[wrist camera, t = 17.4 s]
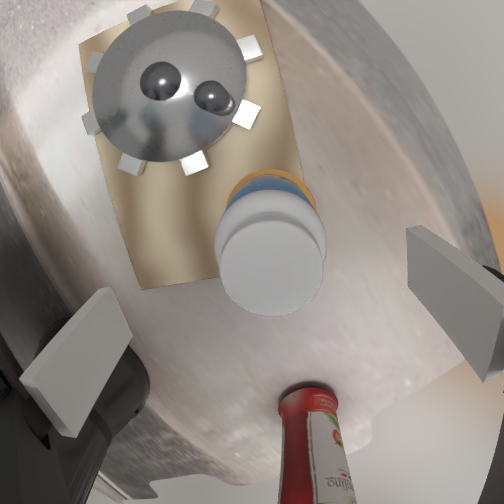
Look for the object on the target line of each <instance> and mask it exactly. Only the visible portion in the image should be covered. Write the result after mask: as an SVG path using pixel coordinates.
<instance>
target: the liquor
mask: <svg viewBox="0 0 504 504" xmlns="http://www.w3.org/2000/svg"><path fill="white" fill-rule="evenodd" d="M337 408H338V399H337V397H336V396H335V395H334V394H333V393H331V392H330V391H327V390H325V389H320V388H315V387H306V388H301V389H298V390H296V391H294V392H292V393H290V394H289V395H287V396H286V397H285V398H284V399H283V400H282V401H281V402H280V404H279V407H278V412H279V415H280V416H281V418H282V452H281V472H280V484H279V493H278V504H357V502H356V496H355V493H354V488H353V484H352V480H351V476H350V472H349V468H348V464H347V460H346V455H345V451H344V446H343V442H342V437H341V433H340V428H339V423H338V419H337V414H336V410H337Z"/></svg>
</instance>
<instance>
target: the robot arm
mask: <svg viewBox="0 0 504 504" xmlns="http://www.w3.org/2000/svg"><path fill="white" fill-rule="evenodd" d="M406 235H407V260H408V287H409V289H410V290H411V291H412V292H413V293H414V294H415V296H416V297H417V298H418V299H419V300H420V301H421V303H422V304H423V305H424V306H425V307H426V309H427V310H428V311H429V312H430V314H431V315H432V316H433V317H434V318H435V320H436V321H437V322H438V323H439V325H440V326H441V327H442V328H443V330H444V331H445V332H446V334H447V335H448V336H449V337H450V339H451V340H452V341H453V343H454V344H455V345H456V346H457V348H458V349H459V350H460V352H461V353H462V354H463V356H464V357H465V358H466V360H467V361H468V363H469V364H470V365H471V367H472V368H473V369H474V371H475V372H476V373H477V375H478V376H479V378H480V379H481V381H482V382H483V383H486V382H488V381H490V380H492V379H494V378H496V377H498V376H500V375H502V372H503V370H504V275H502V274H501V273H500V272H498V271H497V270H495V269H493V268H490V267H487V266H485V265H483V266H481V265H480V264H478V263H477V262H475V261H474V260H473V259H471V258H470V257H468V256H467V255H466V254H464V253H463V252H461V251H460V250H458V249H457V248H455V247H454V246H452V245H451V244H449V243H448V242H447V241H445V240H443V239H442V238H440V237H439V236H437V235H436V234H434V233H433V232H431V231H430V230H428V229H427V228H425V227H423V226H422V225H420V226H415V227H410V228H406ZM132 337H133V334H132V332H131V330H130V328H129V325H128V323H127V321H126V319H125V316H124V314H123V312H122V310H121V307H120V305H119V302H118V300H117V298H116V295H115V293H114V290H113V288H112V286H110V287H105V288H100V289H98V290H97V291H96V292H95V293H94V294H93V295H92V296H91V297H90V298H89V300H88V301H87V302H86V303H85V304H84V305H83V306H82V307H81V308H80V309H79V310H78V311H77V312H76V313H75V314H74V316H73V317H72V318H65V319H61V320H59V321H57V322H56V323H54V324H53V325H52V326H51V327H50V328H49V329H48V330H47V332H46V333H45V334H44V335H43V337H42V338H41V341H40V343H39V347H38V349H37V352H36V355H35V357H34V360H33V362H32V363H31V364H30V366H29V367H28V368H27V369H26V370H25V372H24V371H23V369H22V368H21V366H20V364H19V363H18V361H17V360H16V358H15V357H14V355H13V353H12V352H11V350H10V348H9V347H8V345H7V343H6V341H5V340H4V338H3V336H2V334H1V333H0V504H86V501H87V499H88V496H89V494H90V491H91V489H92V486H93V484H94V481H95V479H96V476H97V474H98V471H99V469H100V466H101V464H102V461H103V459H104V457H105V454H106V452H107V449H108V447H109V445H110V443H111V441H112V439H113V437H114V436H115V435H116V434H117V433H118V432H119V431H120V430H121V429H122V428H123V427H124V426H125V425H126V424H127V423H128V422H129V421H130V420H131V419H132V418H134V417H135V416H136V415H137V414H138V413H139V412H140V411H141V410H142V408H143V406H144V404H145V401H146V399H147V397H148V394H149V388H150V386H149V379H148V376H147V373H146V371H145V368H144V367H143V365H142V363H141V362H140V360H139V359H138V357H137V356H136V355H135V353H134V352H133V351H132V350H131V349H130V348H129V347H128V344H129V342H130V340H131V339H132ZM503 393H504V392H503ZM478 504H504V415H503V420H502V425H501V429H500V434H499V438H498V442H497V446H496V449H495V453H494V457H493V460H492V464H491V467H490V470H489V473H488V476H487V479H486V482H485V485H484V488H483V491H482V493H481V496H480V499H479V501H478Z"/></svg>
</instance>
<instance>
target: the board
mask: <svg viewBox="0 0 504 504" xmlns="http://www.w3.org/2000/svg"><path fill="white" fill-rule="evenodd" d="M206 1H210V2H214V3H217V5H218V7H219V10H218V12H217V14H216V16H215V17H214V20H216V21H217V22H219V23H220V24H221V25H223V26H224V27H225V28H226V29H227V30H228V31H229V32H230V33H231V34H232V35H233V37H234V38H235V39H236V40H239V39H242V38H245V37H248V36H251V35H254V36H255V38H256V40H257V43H258V45H259V47H260V49H261V52H262V54H263V59H260V60H257V61H254V62H251V63H248V64H246V68H247V78H248V84H247V92H246V96H245V101H247V102H250V103H252V104H254V105H257V106H259V107H260V108H261V109H260V111H259V113H258V115H257V117H256V119H255V121H254V123H253V126H252V128H251V130H250V129H248V128H246V127H243V126H241V125H239V124H236V123H233V124H232V126H231V127H230V129H229V130H228V131H227V132H226V133H225V134H224V135H223V136H222V137H221V138H220V139H219V140H218V141H216V142H215V143H214V144H213V145H211V146H210V147H208V148H207V149H205V151H206V154H207V156H208V159H209V161H210V164H211V166H210V167H208V168H205V169H202V170H200V171H197V172H195V173H192V174H190V175H188V176H186V175H185V172H184V169H183V167H182V164H181V162H180V159H178V160H174V161H167V162H150V161H147V162H146V165H145V168H144V170H143V173H142V174H141V175H138V176H135V175H133V174H130V173H128V172H126V171H123V170H121V169H119V168H118V165H119V162H120V159H121V157H122V154H123V152H122V151H120V150H119V149H118V148H116V147H115V146H114V145H113V144H112V143H111V142H110V141H109V140H108V139H107V138H106V136H105V135H104V134H103V132H102V131H100V132H99V133H97V134H95V140H96V144H97V148H98V152H99V156H100V160H101V164H102V168H103V172H104V176H105V180H106V183H107V187H108V190H109V194H110V197H111V201H112V204H113V208H114V211H115V214H116V217H117V221H118V224H119V227H120V230H121V233H122V236H123V239H124V242H125V245H126V248H127V251H128V254H129V257H130V260H131V263H132V265H133V268H134V271H135V274H136V276H137V279H138V282H139V284H140V287H141V290H145V289H151V288H157V287H162V286H168V285H174V284H180V283H186V282H192V281H197V280H203V279H209V278H215V277H220V272H219V266H218V263H217V260H216V257H215V251H214V239H215V233H216V229H217V226H218V224H219V221H220V219H221V217H222V215H223V214H224V212H225V210H226V205H227V201H228V198H229V195H230V194H231V192H232V190H233V189H234V187H235V186H236V185H237V183H238V182H239V181H240V180H242V179H243V178H244V177H246V176H247V175H249V174H251V173H253V172H255V171H259V170H264V169H278V170H282V171H286V172H288V173H291V174H292V175H294V176H296V177H297V178H298V179H300V180H301V181H302V182H303V183H304V180H303V175H302V170H301V165H300V160H299V155H298V150H297V146H296V141H295V136H294V132H293V127H292V123H291V118H290V114H289V110H288V105H287V101H286V97H285V93H284V89H283V85H282V81H281V77H280V73H279V69H278V65H277V61H276V57H275V54H274V50H273V46H272V42H271V39H270V35H269V32H268V28H267V25H266V21H265V18H264V14H263V11H262V8H261V4H260V1H259V0H206ZM193 2H194V0H181V1H178V2H175V3H172V4H169V5H166V6H163V7H160V8H157V9H155V10H152V12H153V15H154V14H157V13H161V12H166V11H177V10H180V11H188V10H189V9H190V7H191V5H192V4H193ZM128 27H130V23H129V20H127V21H125V22H123V23H121V24H118V25H116V26H114V27H112V28H110V29H108V30H106V31H103V32H101V33H99V34H97V35H95V36H94V37H92V38H90V39H88V40H86V41H84V42H82V43H80V44H79V51H80V58H81V65H82V72H83V78H84V84H85V90H86V96H87V101H88V107H89V111H91V110H92V109H93V102H92V89H93V81H94V77H95V73H92V72H88V71H85V67H86V65H87V63H88V60H89V58H90V56H91V54H92V51H95V52H99V53H105V52H106V50H107V49H108V47H109V46H110V45H111V43H112V42H113V41H114V40H115V39H116V38H117V37H118V36H119V35H120V34H121V33H122V32H123V31H124V30H126V29H127V28H128Z"/></svg>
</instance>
